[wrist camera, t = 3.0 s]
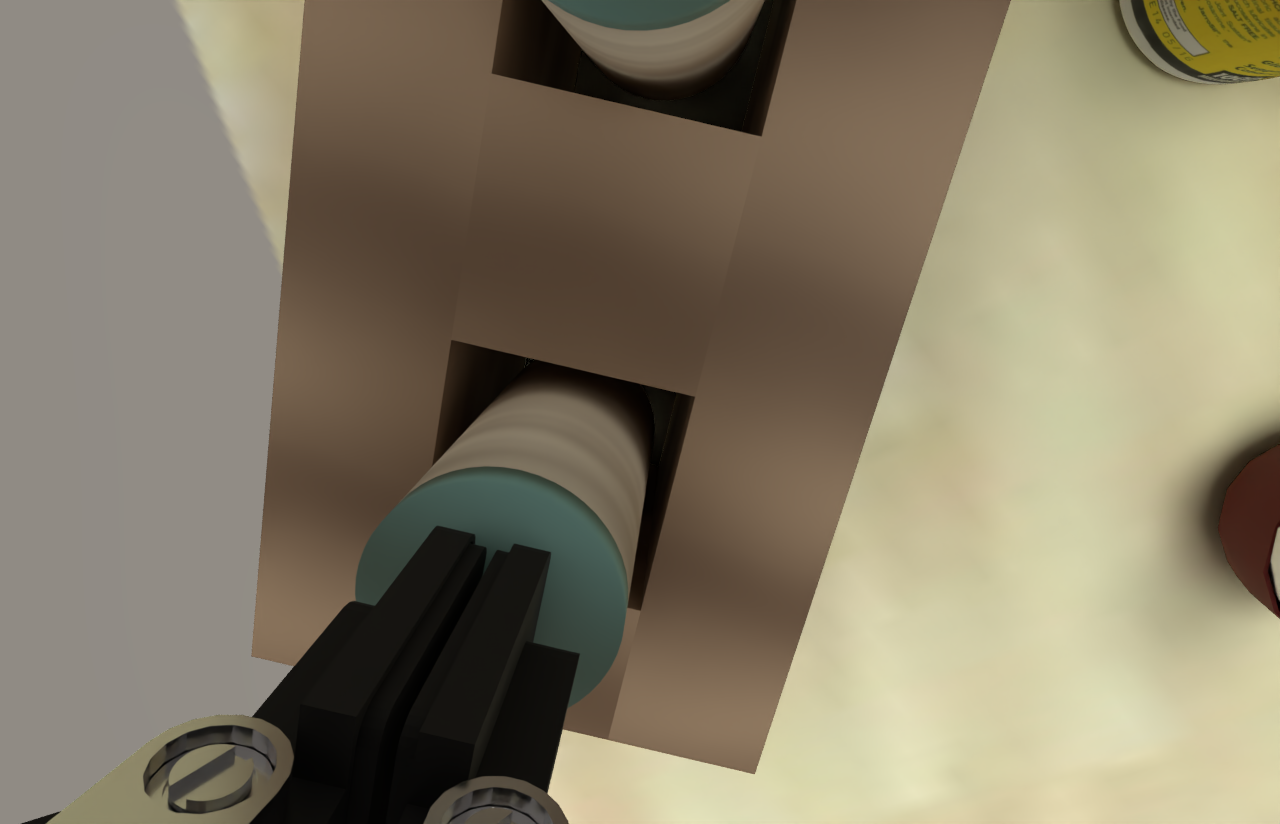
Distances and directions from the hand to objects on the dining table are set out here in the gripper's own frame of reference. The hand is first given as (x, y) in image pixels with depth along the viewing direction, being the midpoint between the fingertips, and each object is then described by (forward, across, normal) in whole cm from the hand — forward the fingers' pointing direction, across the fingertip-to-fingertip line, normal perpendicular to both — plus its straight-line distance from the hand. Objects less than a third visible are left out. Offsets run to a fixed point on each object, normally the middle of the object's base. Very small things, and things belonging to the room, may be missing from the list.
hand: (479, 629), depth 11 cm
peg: (+9, 0, 0) cm, 9 cm away
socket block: (+14, 0, -5) cm, 15 cm away
